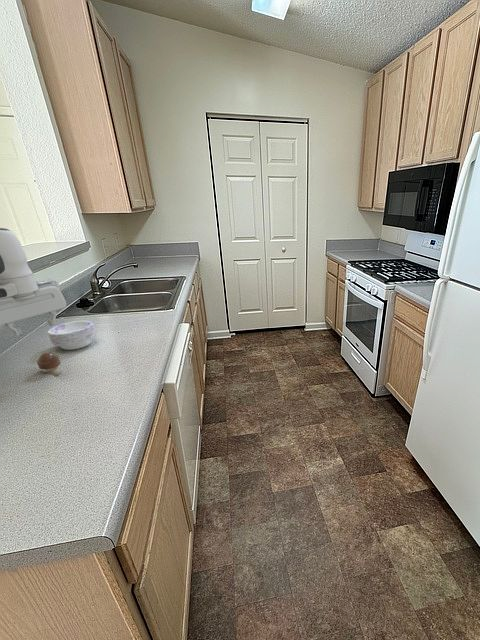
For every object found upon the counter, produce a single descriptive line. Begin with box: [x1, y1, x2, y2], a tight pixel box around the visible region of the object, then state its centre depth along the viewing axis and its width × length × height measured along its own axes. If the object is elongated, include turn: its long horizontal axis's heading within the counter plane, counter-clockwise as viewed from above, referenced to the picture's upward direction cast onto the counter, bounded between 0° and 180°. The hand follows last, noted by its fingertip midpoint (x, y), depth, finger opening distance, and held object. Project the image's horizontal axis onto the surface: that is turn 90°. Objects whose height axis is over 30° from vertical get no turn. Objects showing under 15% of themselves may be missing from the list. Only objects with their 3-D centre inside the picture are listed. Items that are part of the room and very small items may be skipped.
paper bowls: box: [47, 320, 97, 351], centre depth 130 cm, size 15×15×8 cm
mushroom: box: [36, 352, 62, 377], centre depth 108 cm, size 6×6×8 cm
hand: (36, 329), depth 103 cm, fingers open, 8 cm apart
